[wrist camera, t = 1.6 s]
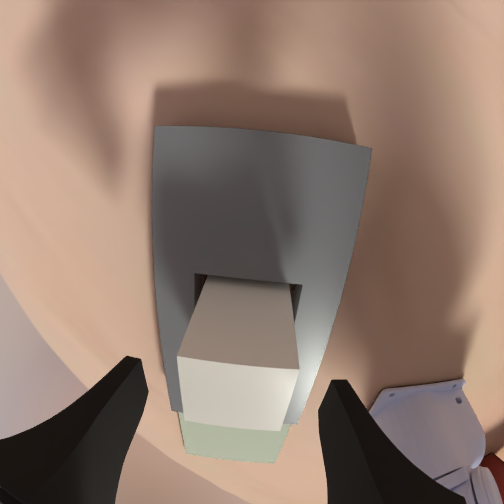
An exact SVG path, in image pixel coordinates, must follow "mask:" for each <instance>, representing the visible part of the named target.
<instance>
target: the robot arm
mask: <svg viewBox="0 0 504 504" xmlns="http://www.w3.org/2000/svg"><path fill="white" fill-rule="evenodd" d="M464 385H465V380H464V379H458V380H453V381H447V382H440V383H434V384H426V385H418V386H409V387H399V388H388V389H384V390H383V391H381V393H380V394H379V396H378V398H377V399H376V401H375V403H374V404H373V406H372V407H371V409H370V411H369V412H368V410H367V409H366V408H365V406H364V405H363V403H362V402H361V400H360V399H359V397H358V396H357V394H356V393H355V391H354V390H353V388H352V386H351V385H350V383H349V382H348V381H347V380H331V382H330V385H329V387H328V390H327V392H326V394H325V396H324V399H323V401H322V403H321V405H320V407H319V410H318V419H319V435H320V441H321V447H322V453H323V459H324V465H325V472H326V478H327V491H328V504H503V502H502V499H501V495H500V492H499V489H498V487H497V484H496V482H495V480H494V477H493V475H492V474H491V472H490V470H489V469H488V468H487V467H481V466H479V464H480V463H481V461H482V459H483V457H484V454H485V449H486V438H485V433H484V431H483V428H482V426H481V424H480V422H479V420H478V418H477V416H476V414H475V412H474V411H473V409H472V407H471V405H470V403H469V401H468V399H467V398H466V396H465V394H464V392H463V390H462V387H463V386H464ZM148 392H149V391H148V387H147V383H146V379H145V375H144V370H143V366H142V361H141V359H139V358H134V357H130V356H126V357H125V358H123V359H122V360H121V361H120V362H119V363H118V364H117V365H116V366H115V367H114V368H113V369H112V370H111V371H110V372H109V373H108V374H106V375H105V376H104V377H103V378H102V379H101V380H100V381H99V382H98V383H96V384H95V385H94V386H93V387H92V388H91V389H90V390H89V391H87V392H86V393H85V394H84V395H82V396H81V397H80V398H79V399H77V400H76V401H75V402H74V403H72V404H71V405H70V406H68V407H67V408H66V409H64V410H62V411H61V412H59V413H58V414H57V415H55V416H53V417H52V418H50V419H48V420H46V421H45V422H43V423H41V424H39V425H37V426H36V427H33V428H31V429H29V430H26V431H24V432H21V433H19V434H17V435H14V436H11V437H9V438H5V439H1V440H0V504H115V498H116V493H117V488H118V483H119V478H120V474H121V470H122V466H123V463H124V460H125V456H126V454H127V451H128V449H129V446H130V444H131V441H132V439H133V436H134V434H135V432H136V429H137V427H138V424H139V422H140V419H141V417H142V414H143V411H144V407H145V404H146V400H147V396H148Z"/></svg>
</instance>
